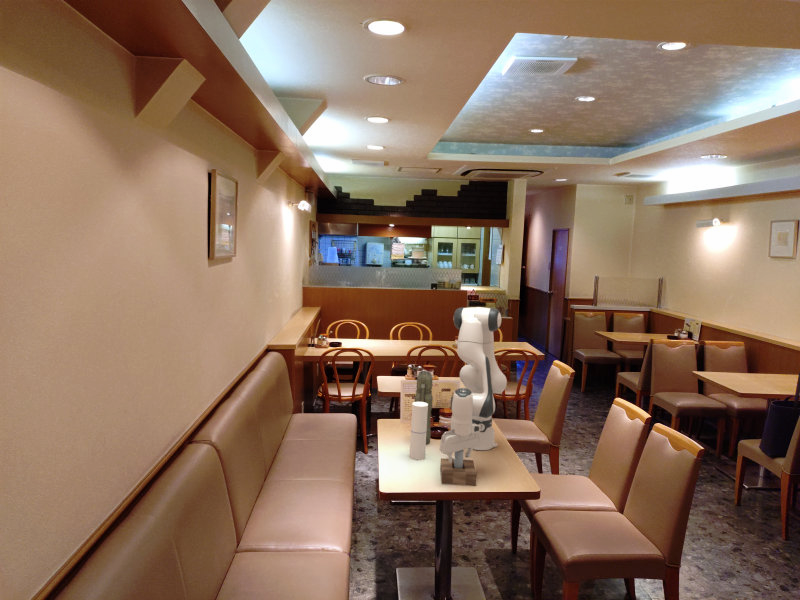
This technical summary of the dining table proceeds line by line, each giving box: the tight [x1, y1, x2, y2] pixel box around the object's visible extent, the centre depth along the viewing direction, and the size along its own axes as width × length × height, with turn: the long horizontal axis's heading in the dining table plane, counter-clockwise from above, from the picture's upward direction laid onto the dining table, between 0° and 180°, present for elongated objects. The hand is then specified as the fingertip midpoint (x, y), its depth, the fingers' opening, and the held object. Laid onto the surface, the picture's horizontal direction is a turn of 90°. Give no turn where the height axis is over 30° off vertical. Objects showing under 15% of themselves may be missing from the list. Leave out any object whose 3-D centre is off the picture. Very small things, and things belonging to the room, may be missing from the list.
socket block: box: [439, 458, 478, 487], centre depth 230 cm, size 14×14×5 cm
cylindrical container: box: [409, 401, 428, 461], centre depth 248 cm, size 7×7×25 cm
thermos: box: [414, 370, 434, 446], centre depth 266 cm, size 9×12×35 cm
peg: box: [454, 449, 465, 469], centre depth 229 cm, size 4×4×12 cm
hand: (459, 459), depth 229 cm, fingers open, 8 cm apart
